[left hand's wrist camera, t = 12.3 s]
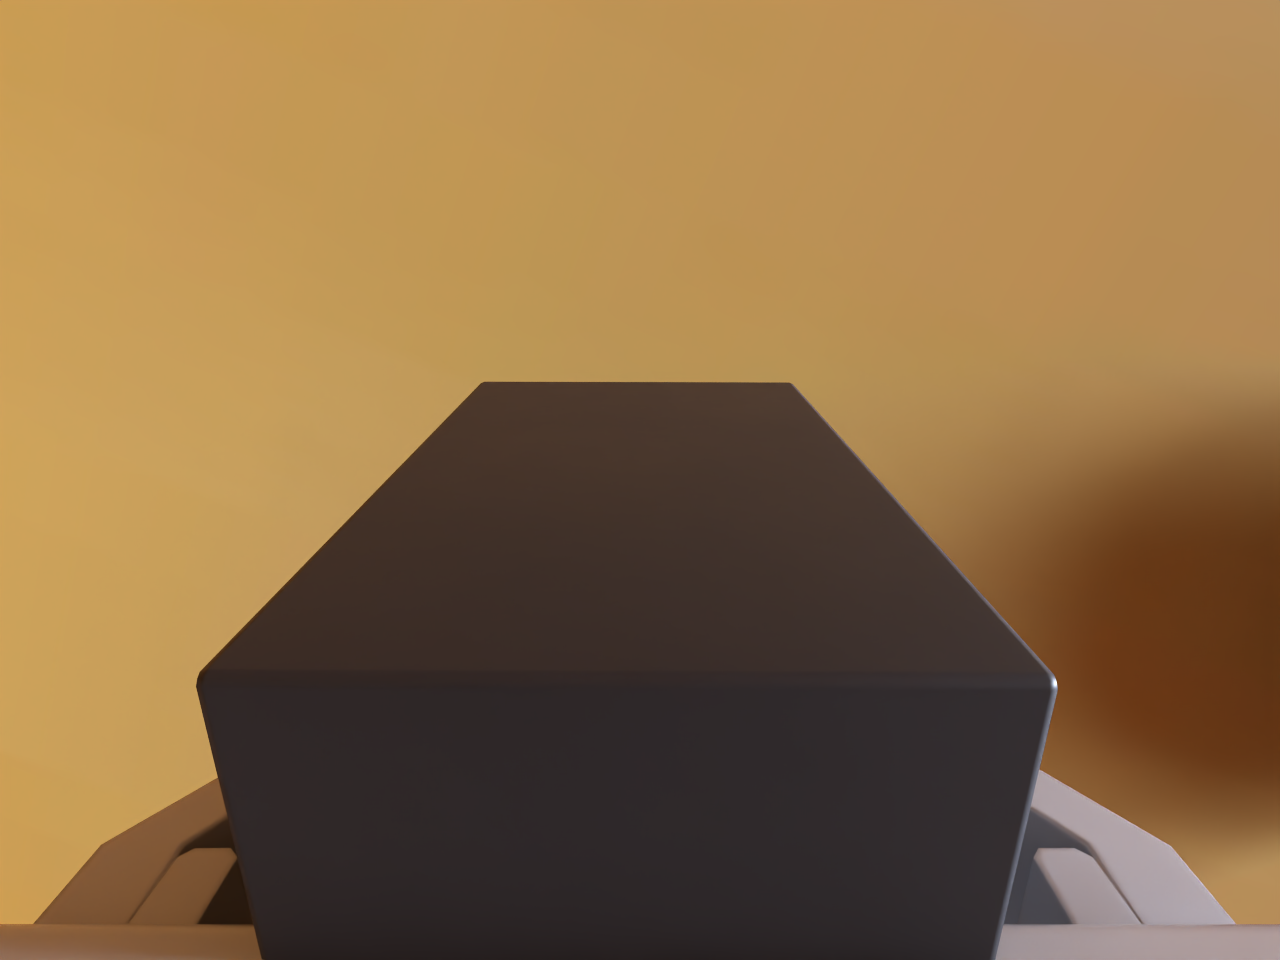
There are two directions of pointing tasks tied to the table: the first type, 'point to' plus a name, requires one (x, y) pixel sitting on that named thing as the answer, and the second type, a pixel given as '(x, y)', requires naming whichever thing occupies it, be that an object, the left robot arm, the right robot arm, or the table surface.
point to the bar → (628, 701)
